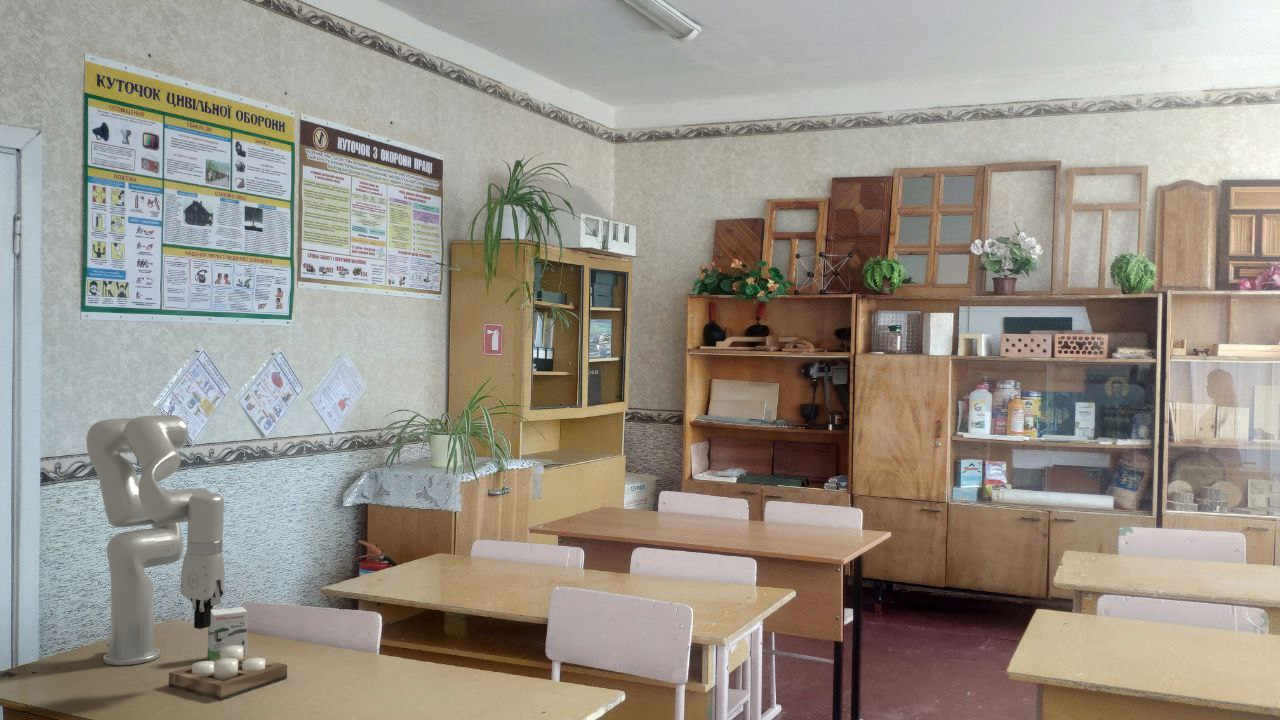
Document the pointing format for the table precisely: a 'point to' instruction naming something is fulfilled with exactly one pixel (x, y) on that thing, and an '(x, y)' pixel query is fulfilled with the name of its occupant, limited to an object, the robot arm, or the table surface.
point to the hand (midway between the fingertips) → (202, 627)
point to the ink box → (227, 630)
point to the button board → (230, 687)
